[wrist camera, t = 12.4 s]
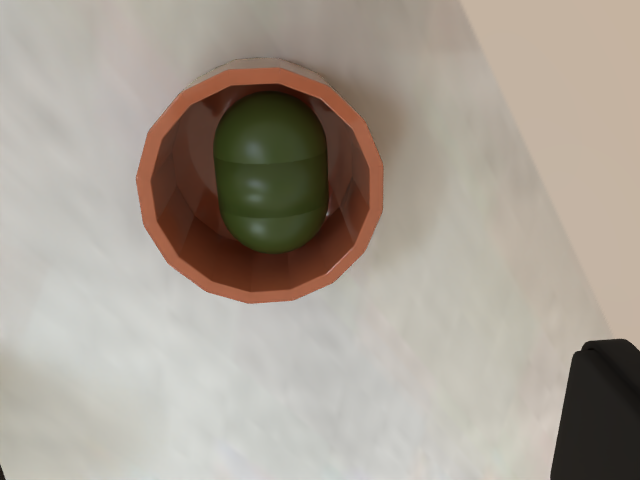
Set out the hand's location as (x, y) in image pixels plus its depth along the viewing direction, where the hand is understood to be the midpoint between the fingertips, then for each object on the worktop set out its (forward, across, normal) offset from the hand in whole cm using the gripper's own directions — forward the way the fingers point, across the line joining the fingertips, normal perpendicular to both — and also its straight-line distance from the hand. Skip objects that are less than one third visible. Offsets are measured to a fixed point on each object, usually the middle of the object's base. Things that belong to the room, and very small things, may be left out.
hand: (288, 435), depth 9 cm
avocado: (+20, +1, +1) cm, 20 cm away
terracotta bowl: (+21, +1, +1) cm, 21 cm away
